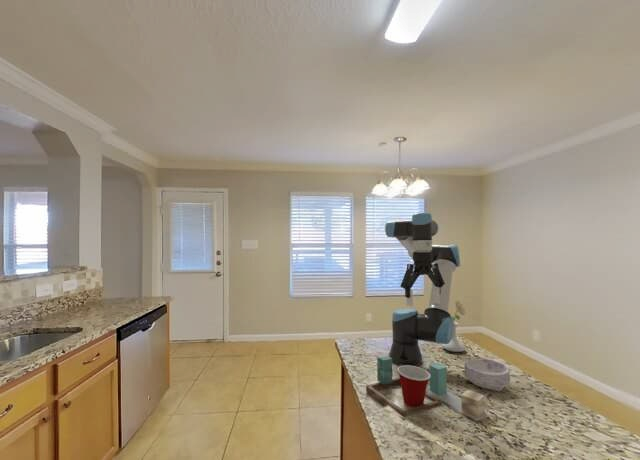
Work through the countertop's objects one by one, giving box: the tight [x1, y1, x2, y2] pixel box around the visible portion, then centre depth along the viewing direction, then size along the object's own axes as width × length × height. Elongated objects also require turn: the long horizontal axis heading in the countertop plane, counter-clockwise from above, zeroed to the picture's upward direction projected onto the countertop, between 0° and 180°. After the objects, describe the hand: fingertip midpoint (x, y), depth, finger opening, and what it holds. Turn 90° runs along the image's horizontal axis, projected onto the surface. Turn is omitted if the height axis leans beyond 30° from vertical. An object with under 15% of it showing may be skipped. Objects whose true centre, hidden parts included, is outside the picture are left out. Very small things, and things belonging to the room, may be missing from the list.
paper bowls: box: [464, 358, 511, 392], centre depth 115 cm, size 15×15×8 cm
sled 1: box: [365, 354, 443, 421], centre depth 106 cm, size 22×16×11 cm
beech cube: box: [460, 389, 486, 417], centre depth 95 cm, size 5×5×5 cm
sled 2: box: [426, 362, 492, 422], centre depth 100 cm, size 20×7×10 cm, turn 26°
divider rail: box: [431, 394, 479, 425], centre depth 98 cm, size 22×1×2 cm, turn 26°
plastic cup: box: [397, 365, 431, 408], centre depth 100 cm, size 11×11×12 cm
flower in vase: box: [441, 300, 466, 353], centre depth 154 cm, size 13×11×25 cm
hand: (423, 304), depth 119 cm, fingers open, 13 cm apart
